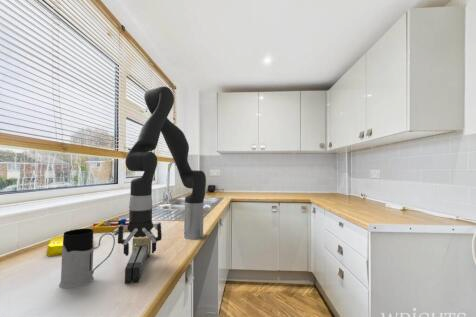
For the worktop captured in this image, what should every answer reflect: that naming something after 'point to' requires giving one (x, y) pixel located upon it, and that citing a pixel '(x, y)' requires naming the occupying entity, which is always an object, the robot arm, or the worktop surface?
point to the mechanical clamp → (109, 226)
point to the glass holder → (78, 258)
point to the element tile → (55, 246)
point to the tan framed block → (142, 241)
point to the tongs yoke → (143, 245)
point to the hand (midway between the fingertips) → (140, 253)
